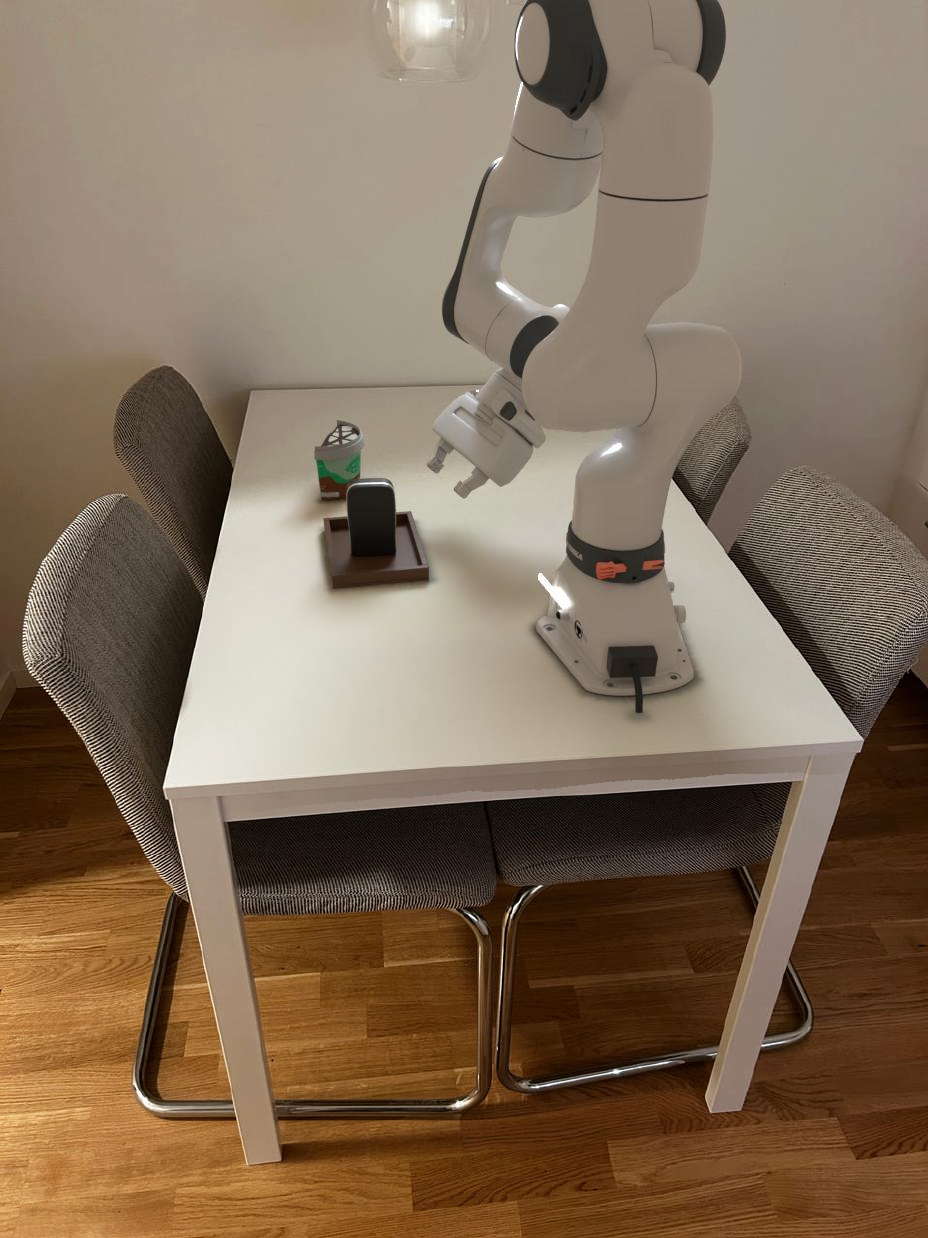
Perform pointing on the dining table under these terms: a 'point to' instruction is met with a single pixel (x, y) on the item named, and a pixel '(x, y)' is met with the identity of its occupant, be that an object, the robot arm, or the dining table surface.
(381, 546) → the battery charger
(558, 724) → the dining table surface
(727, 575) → the dining table surface
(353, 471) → the food container
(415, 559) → the tray
